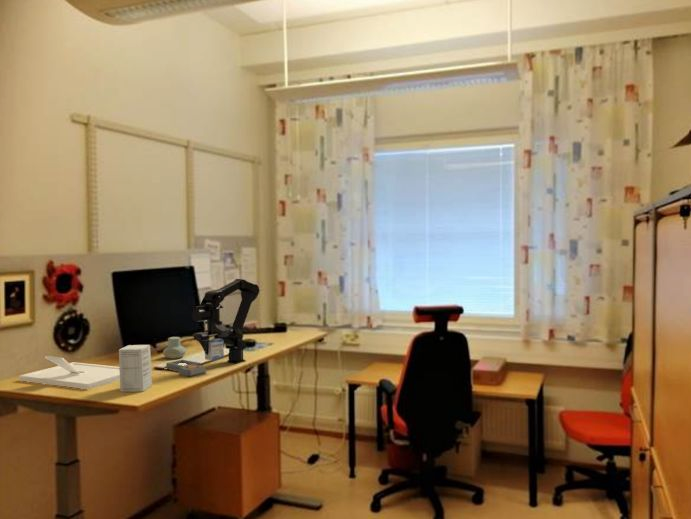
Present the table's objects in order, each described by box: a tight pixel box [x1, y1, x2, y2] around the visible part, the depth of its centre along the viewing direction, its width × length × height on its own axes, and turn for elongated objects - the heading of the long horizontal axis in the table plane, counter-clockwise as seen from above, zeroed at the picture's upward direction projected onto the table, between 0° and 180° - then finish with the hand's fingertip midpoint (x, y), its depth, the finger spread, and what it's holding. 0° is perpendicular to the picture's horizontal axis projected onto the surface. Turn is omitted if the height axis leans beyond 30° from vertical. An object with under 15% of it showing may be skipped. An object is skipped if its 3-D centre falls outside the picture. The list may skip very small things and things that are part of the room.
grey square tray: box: [163, 359, 203, 373], centre depth 262 cm, size 12×14×2 cm
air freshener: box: [162, 336, 187, 360], centre depth 286 cm, size 11×8×10 cm
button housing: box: [178, 365, 207, 378], centre depth 250 cm, size 8×8×3 cm
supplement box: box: [118, 344, 153, 393], centre depth 227 cm, size 10×9×17 cm
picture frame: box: [18, 355, 120, 390], centre depth 247 cm, size 40×12×28 cm
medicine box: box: [204, 337, 225, 361], centre depth 262 cm, size 8×4×9 cm, turn 148°
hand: (214, 352), depth 262 cm, fingers closed on medicine box, 8 cm apart
